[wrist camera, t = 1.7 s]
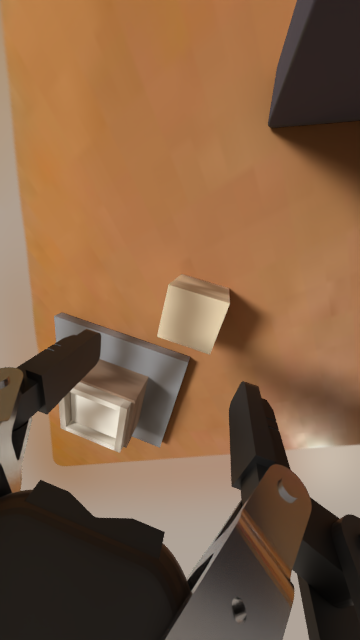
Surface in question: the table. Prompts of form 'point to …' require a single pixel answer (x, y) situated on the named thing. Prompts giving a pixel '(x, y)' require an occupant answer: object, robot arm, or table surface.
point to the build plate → (142, 363)
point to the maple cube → (193, 312)
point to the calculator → (319, 66)
